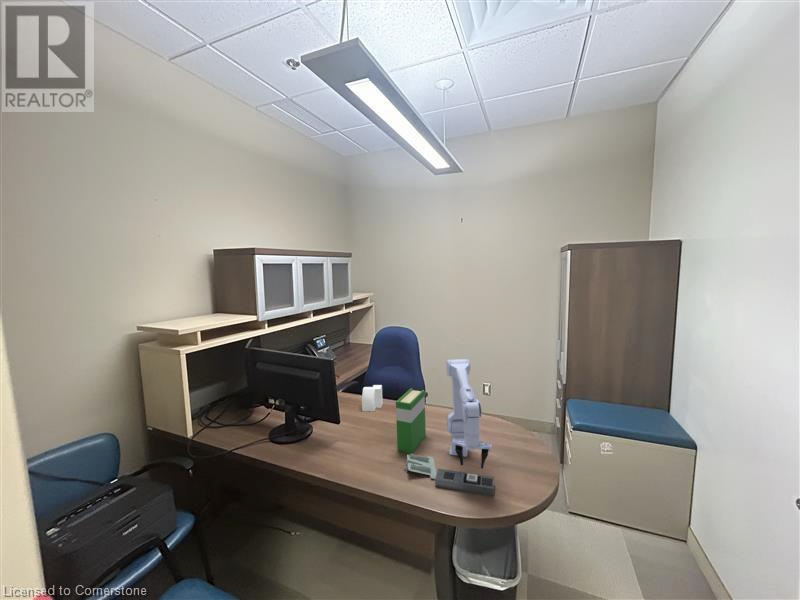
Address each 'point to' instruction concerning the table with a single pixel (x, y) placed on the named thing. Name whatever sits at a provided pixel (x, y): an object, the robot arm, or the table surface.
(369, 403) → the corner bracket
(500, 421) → the table surface
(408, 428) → the hardback book
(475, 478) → the cube with square inset
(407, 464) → the metal bracket
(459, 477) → the rail
